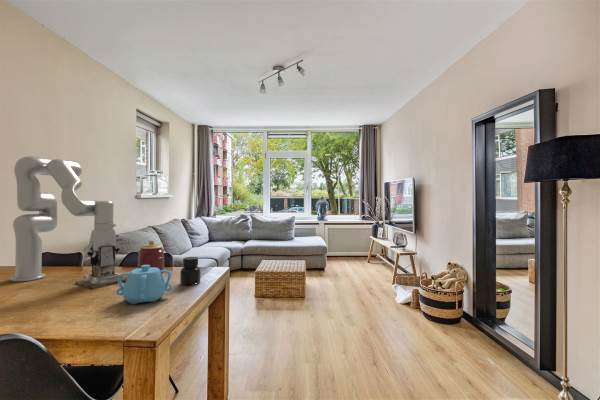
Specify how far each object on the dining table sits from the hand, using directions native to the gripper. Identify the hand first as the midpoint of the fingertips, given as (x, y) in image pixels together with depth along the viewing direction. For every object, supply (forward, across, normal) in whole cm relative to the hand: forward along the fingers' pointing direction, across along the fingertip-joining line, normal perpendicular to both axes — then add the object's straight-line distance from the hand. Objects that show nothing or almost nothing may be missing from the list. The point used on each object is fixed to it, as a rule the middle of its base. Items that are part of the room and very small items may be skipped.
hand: (103, 263), depth 140 cm
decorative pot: (+9, +4, +40) cm, 41 cm away
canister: (+9, -23, +2) cm, 25 cm away
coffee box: (+8, 0, 0) cm, 8 cm away
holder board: (+9, 0, 0) cm, 9 cm away
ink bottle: (+9, -21, +36) cm, 43 cm away
